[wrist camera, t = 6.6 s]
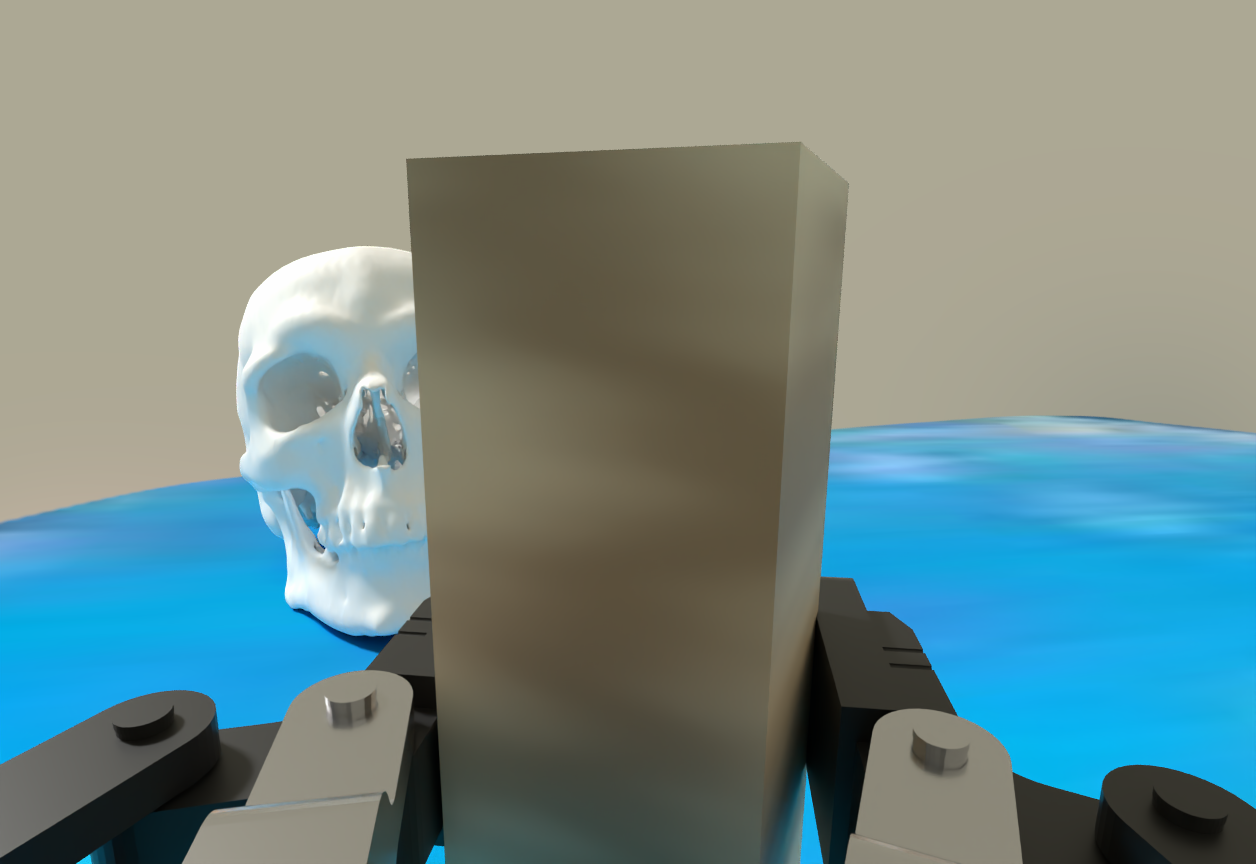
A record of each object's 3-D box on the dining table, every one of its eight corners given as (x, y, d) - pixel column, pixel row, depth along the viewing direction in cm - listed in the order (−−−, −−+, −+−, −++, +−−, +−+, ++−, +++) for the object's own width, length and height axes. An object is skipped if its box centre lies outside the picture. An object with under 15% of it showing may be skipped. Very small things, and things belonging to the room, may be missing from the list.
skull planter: (191, 664, 27) (183, 188, 31) (271, 655, 45) (259, 357, 50) (566, 608, 31) (514, 197, 36) (500, 621, 50) (471, 349, 54)
